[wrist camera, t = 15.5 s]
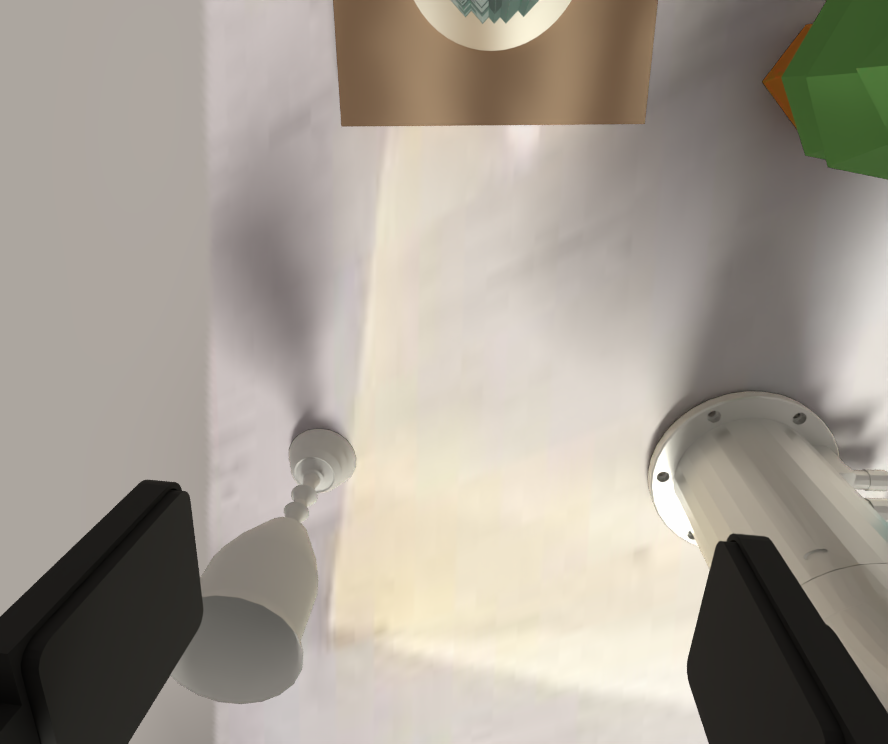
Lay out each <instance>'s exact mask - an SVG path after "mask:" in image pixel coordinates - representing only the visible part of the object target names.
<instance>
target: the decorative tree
mask: <svg viewBox="0 0 888 744" xmlns="http://www.w3.org/2000/svg"><path fill="white" fill-rule="evenodd" d="M762 82H763V84H764V85H765V87H766V88H767V89H768V91H769V92H770V93H771V95H772V96H773V97H774V99H775V100H776V102H777V103H778V104H779V106H780V107H781V108H782V110H783V111H784V113H785V114H786V115H787V117H788V118H789V119H790V121H791V122H792V123H793V125H794V126H795V128H796V129H797V130H798V134H799V137H800V140H801V143H802V147H803V150H804V153H805V156H810V157H815V158H820V159H825V160H826V162H827V166H828V167H829V168H834V169H839V170H844V171H849V172H854V173H859V174H864V175H868V176H873V177H878V178H883V179H888V0H827V1H826V2H825V4H824V6H823V8H822V9H821V11H820V13H819V14H818V16H817V18H816V19H815V21H814V23H813V24H807V25H805V27H804V28H803V29H802V30H801V32H800V33H799V34H798V36H797V37H796V38H795V40H794V41H793V42H792V43H791V45H790V46H789V47H788V49H787V50H786V51H785V53H784V54H783V55H782V56H781V58H780V59H779V60H778V62H777V63H776V64H775V66H774V67H773V68H772V69H771V71H770V72H769V73H768V75H767V76H766V77H765V79H764V80H763V81H762Z"/></svg>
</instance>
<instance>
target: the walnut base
mask: <svg viewBox="0 0 888 744" xmlns="http://www.w3.org/2000/svg"><path fill="white" fill-rule="evenodd" d="M657 4H658V0H539V1H538V2H537V3H536V4H535V5H534V6H533V7H532V9H531V10H530V11H529V12H528V13H527V14H526V15H525V16H524V17H523V16H522V15H521V14H520V12H519V11H517V12H516V13H515V14H514V15H513V17H512V18H511V19H510V20H509V21H508V22H507V23H506V24H505V22H504V21H503V20H502V19H501V18H499V19H498V20H497V21H496V23H495V24H494V23H493V22H492V21H491V20H490V18H488V19H487V20H486V21H485V22H484V23H483V24H482V23H481V22H480V20H479V19H478V18H477V17H476V16H475V15H474V13H473V12H472V11H471V12H470V13H469V14H468V15H467V16H466V17H465V16H464V15H463V14H462V13H461V12H460V11H459V9H458V8H457V7H456V6H455V5H454V4H453V3H452V1H451V0H333V6H334V21H335V36H336V51H337V66H338V81H339V96H340V111H341V126H452V125H575V124H645V116H646V107H647V98H648V88H649V79H650V70H651V60H652V51H653V42H654V32H655V23H656V13H657Z"/></svg>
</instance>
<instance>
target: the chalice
mask: <svg viewBox="0 0 888 744" xmlns="http://www.w3.org/2000/svg"><path fill="white" fill-rule="evenodd" d="M289 461H290V468H291V474H292V476H293V479H294V480H295V482H296V483H297V484H298V486H296V487H295V488H294V489H293V490H292V492H291V497H292V500H293V501H294V502H291V503H289V504H287V505H286V506H285V508H284V514H285V517H278V518H274V519H272V520H270V521H268V522H265V523H263V524H261V525H259V526H257V527H255V528H253V529H251V530H248V531H246V532H244V533H243V534H241V535H240V536H238V537H237V538H235V539H234V540H233V541H231V542H230V543H228V544H227V545H225V546H224V547H223V548H222V549H221V550H220V551H219V552H218V553H217V554H216V555H215V556H214V557H213V558H212V560H211V561H210V563H209V565H208V566H207V568H206V569H205V571H204V573H203V574H202V576H201V577H200V584H201V592H202V600H203V617H202V622H201V624H200V627H199V629H198V631H197V633H196V634H195V636H194V637H193V639H192V641H191V642H190V644H189V646H188V647H187V649H186V650H185V652H184V654H183V655H182V657H181V658H180V660H179V662H178V663H177V665H176V667H175V668H174V670H173V671H172V673H171V675H170V676H171V677H172V678H173V679H174V680H175V681H176V682H177V683H179V684H180V685H181V686H183V687H185V688H187V689H188V690H190V691H192V692H194V693H195V694H197V695H199V696H202V697H205V698H208V699H211V700H215V701H218V702H225V703H235V704H246V703H255V702H262V701H265V700H267V699H270V698H273V697H275V696H278V695H280V694H281V693H283V692H284V691H285V690H286V689H288V688H289V687H290V686H292V685H293V684H294V683H295V681H296V679H297V677H298V675H299V674H300V672H301V670H302V664H303V649H302V645H301V638H302V636H303V633H304V630H305V627H306V624H307V622H308V619H309V616H310V613H311V610H312V608H313V605H314V602H315V599H316V596H317V591H318V574H317V564H316V558H315V555H314V552H313V549H312V546H311V542H310V539H309V536H308V533H307V530H306V529H305V527H304V526H303V525H302V524H301V522H303V521H305V520H306V519H307V518H308V516H309V511H308V508H307V507H308V506H311V505H313V504H315V503H316V501H317V499H318V495H317V493H325V492H329V491H331V490H333V489H334V488H336V487H338V486H339V485H341V484H343V483H345V482H346V481H347V480H348V479H349V478H350V477H351V476H352V474H353V472H354V470H355V468H356V456H355V453H354V450H353V448H352V446H351V445H350V444H349V442H348V441H347V440H346V439H345V438H343V437H342V436H341V435H339V434H338V433H335V432H333V431H330V430H326V429H312V430H307V431H305V432H303V433H301V434H299V435H298V436H297V437H296V438H295V439H294V440H293V442H292V444H291V446H290V449H289Z"/></svg>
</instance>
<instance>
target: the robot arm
mask: <svg viewBox="0 0 888 744" xmlns="http://www.w3.org/2000/svg"><path fill="white" fill-rule="evenodd" d="M712 411H713V412H712ZM710 412H712V413H711V414H709V413H710ZM660 472H661V473H660ZM648 487H649V491H650V495H651V499H652V502H653V504H654V506H655V508H656V511H657V513H658V515H659V516H660V518H661V519H662V520H663V522H664V523H665V525H666V526H667V527H668V528H669V529H670V530H671V531H673V532H674V533H675V534H676V535H677V536H679V537H680V538H682V539H683V540H685V541H687V542H688V543H691V544H693V545H696V546H698V547H699V549H700V551H701V553H702V555H703V557H704V559H705V561H706V563H707V565H708V567H709V569H710V571H709V575H708V579H707V583H706V587H705V591H704V595H703V599H702V603H701V607H700V612H699V616H698V620H697V624H696V628H695V632H694V636H693V640H692V644H691V648H690V652H689V656H688V661H687V675H688V681H689V685H690V688H691V691H692V694H693V697H694V700H695V703H696V706H697V709H698V712H699V715H700V718H701V721H702V724H703V727H704V730H705V733H706V736H707V739H708V742H709V744H888V499H886V498H863V497H862V496H861V495H860V494H859V493H858V492H857V491H856V490H855V489H862V490H865V491H887V490H888V472H887V471H885V470H869V469H864V470H852V469H851V468H850V467H849V466H847V465H846V464H845V463H844V462H843V461H842V460H841V459H840V458H839V451H838V446H837V444H836V442H835V439H834V437H833V434H832V433H831V431H830V430H829V429H828V427H827V426H826V424H825V423H824V422H823V421H822V420H821V419H820V418H819V417H818V416H817V415H816V414H815V413H814V412H813V411H812V410H810V409H809V408H807V407H806V406H804V405H803V404H801V403H800V402H798V401H796V400H793V399H791V398H788V397H786V396H783V395H779V394H774V393H769V392H756V391H745V392H738V393H731V394H726V395H723V396H720V397H717V398H714V399H710V400H708V401H706V402H704V403H702V404H700V405H698V406H696V407H694V408H692V409H691V410H690V411H688V412H687V413H685V414H684V415H683V416H681V417H680V418H679V419H677V421H676V422H675V423H674V424H673V425H672V426H671V427H670V428H669V429H668V430H667V431H666V432H665V433H664V435H663V436H662V438H661V439H660V441H659V442H658V444H657V446H656V448H655V450H654V453H653V455H652V457H651V461H650V466H649V471H648ZM202 617H203V600H202V592H201V584H200V576H199V568H198V560H197V552H196V543H195V536H194V527H193V519H192V510H191V502H190V497H189V494H188V493H187V492H186V491H182V490H181V487H180V485H179V484H178V483H176V482H167V481H166V482H165V481H156V480H144V481H142V482H140V483H139V484H138V485H137V486H136V487H135V488H134V489H133V490H132V491H131V492H130V493H129V494H128V495H127V496H126V497H125V498H124V499H123V500H121V501H120V502H119V503H118V504H117V505H116V506H115V507H114V508H113V509H112V510H111V511H110V512H109V513H108V514H107V515H106V516H105V517H104V518H103V519H102V520H101V521H100V522H98V524H96V525H95V526H94V527H93V528H92V529H91V530H90V531H89V532H88V533H87V534H86V535H85V536H84V537H83V538H82V539H81V540H80V541H79V542H78V543H77V544H76V545H75V546H73V547H72V548H71V549H70V550H69V551H68V552H67V553H66V554H65V555H64V556H63V557H62V558H61V559H60V560H59V561H58V562H57V563H56V564H55V565H54V566H53V567H52V568H51V569H50V570H49V571H47V572H46V573H45V574H44V575H43V576H42V577H41V578H40V579H39V580H38V581H37V582H36V583H35V584H34V585H33V586H32V587H31V588H30V589H29V590H28V591H27V592H26V593H24V595H22V596H21V597H20V598H19V599H18V600H17V601H16V602H15V603H14V604H13V605H12V606H11V607H10V608H9V609H8V610H7V611H6V612H5V613H4V614H3V615H2V616H1V617H0V744H128V743H129V741H130V739H131V738H132V736H133V735H134V733H135V731H136V730H137V728H138V726H139V725H140V723H141V721H142V720H143V718H144V717H145V715H146V713H147V712H148V710H149V709H150V707H151V705H152V704H153V702H154V701H155V699H156V697H157V696H158V694H159V692H160V691H161V689H162V688H163V686H164V684H165V683H166V681H167V679H168V678H169V676H170V675H171V673H172V671H173V670H174V668H175V667H176V665H177V663H178V662H179V660H180V658H181V657H182V655H183V654H184V652H185V650H186V649H187V647H188V646H189V644H190V642H191V641H192V639H193V637H194V636H195V634H196V633H197V631H198V629H199V627H200V624H201V622H202Z"/></svg>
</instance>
